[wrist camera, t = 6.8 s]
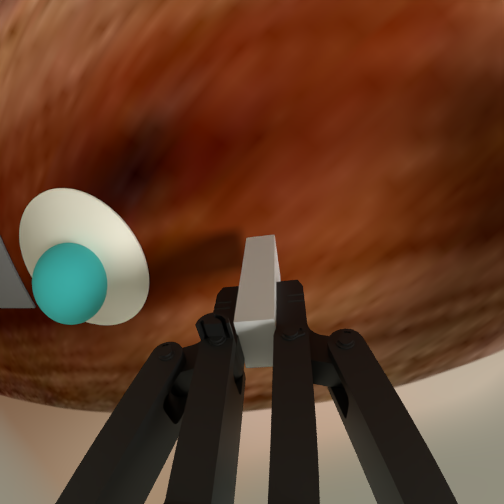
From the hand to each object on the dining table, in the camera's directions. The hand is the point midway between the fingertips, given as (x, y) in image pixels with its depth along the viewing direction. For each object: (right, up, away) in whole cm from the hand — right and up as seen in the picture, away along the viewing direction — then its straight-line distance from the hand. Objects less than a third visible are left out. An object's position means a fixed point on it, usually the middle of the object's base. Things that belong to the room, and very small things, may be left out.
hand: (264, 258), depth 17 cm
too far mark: (-26, -2, +5) cm, 26 cm away
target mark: (-14, -1, +3) cm, 14 cm away
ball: (-13, -2, +1) cm, 13 cm away
